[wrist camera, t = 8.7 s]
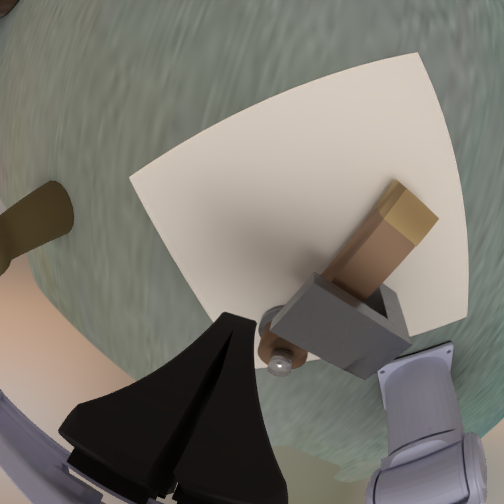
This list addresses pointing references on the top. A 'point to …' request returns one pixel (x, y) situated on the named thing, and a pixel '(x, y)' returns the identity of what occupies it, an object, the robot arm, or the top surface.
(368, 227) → the link
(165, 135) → the top surface
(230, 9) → the top surface
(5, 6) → the plant pot
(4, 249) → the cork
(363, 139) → the board
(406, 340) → the keeper
